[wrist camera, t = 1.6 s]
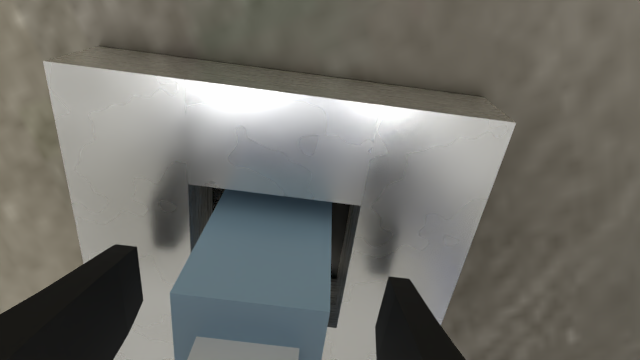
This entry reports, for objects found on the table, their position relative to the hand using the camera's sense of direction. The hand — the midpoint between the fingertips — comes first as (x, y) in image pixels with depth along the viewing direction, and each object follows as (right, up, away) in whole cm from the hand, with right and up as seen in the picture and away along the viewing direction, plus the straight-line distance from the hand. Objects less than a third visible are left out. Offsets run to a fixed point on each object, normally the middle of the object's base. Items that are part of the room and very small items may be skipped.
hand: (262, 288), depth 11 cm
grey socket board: (0, -3, +6) cm, 7 cm away
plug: (0, +2, +3) cm, 4 cm away
